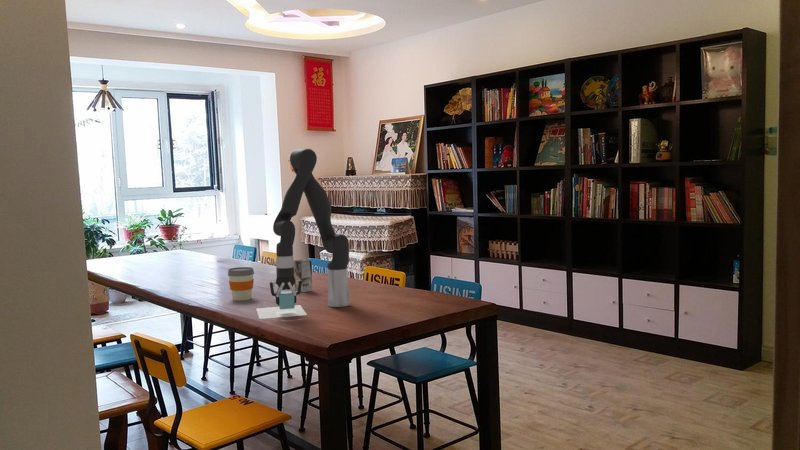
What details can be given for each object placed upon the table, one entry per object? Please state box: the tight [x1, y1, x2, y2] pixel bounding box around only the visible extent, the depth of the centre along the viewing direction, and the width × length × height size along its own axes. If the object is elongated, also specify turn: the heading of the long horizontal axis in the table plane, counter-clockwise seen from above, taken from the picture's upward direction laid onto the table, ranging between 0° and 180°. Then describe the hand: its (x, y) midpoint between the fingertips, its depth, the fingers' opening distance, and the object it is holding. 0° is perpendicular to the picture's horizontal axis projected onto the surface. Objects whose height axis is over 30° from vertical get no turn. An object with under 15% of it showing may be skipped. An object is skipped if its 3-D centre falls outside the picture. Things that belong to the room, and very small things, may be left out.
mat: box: [255, 304, 308, 320], centre depth 270 cm, size 20×22×1 cm
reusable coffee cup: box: [227, 266, 255, 301], centre depth 304 cm, size 13×13×15 cm
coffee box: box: [294, 258, 313, 293], centre depth 323 cm, size 9×6×16 cm
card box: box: [278, 290, 295, 309], centre depth 264 cm, size 9×6×6 cm, turn 17°
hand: (286, 304), depth 264 cm, fingers closed on card box, 6 cm apart
